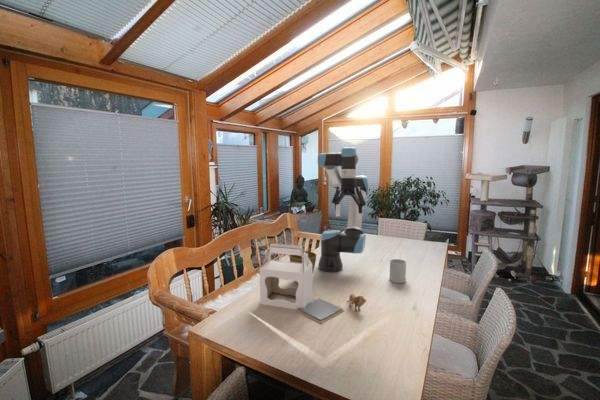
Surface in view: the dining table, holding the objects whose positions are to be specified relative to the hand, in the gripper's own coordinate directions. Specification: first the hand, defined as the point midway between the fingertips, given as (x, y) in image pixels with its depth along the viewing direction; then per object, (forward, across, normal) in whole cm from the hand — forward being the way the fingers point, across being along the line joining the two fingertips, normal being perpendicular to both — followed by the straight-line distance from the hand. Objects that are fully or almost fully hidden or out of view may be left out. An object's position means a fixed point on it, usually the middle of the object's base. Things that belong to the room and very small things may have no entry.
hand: (347, 217), depth 152 cm
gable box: (+37, -9, -36) cm, 53 cm away
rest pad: (+37, +9, -32) cm, 50 cm away
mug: (+37, +16, +27) cm, 48 cm away
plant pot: (+37, -19, -15) cm, 44 cm away
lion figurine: (+37, +18, -19) cm, 45 cm away
